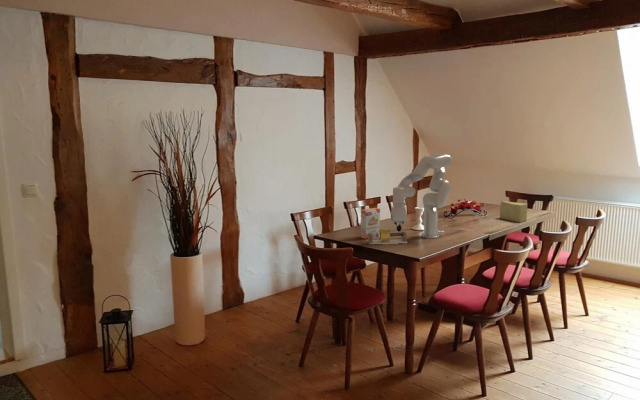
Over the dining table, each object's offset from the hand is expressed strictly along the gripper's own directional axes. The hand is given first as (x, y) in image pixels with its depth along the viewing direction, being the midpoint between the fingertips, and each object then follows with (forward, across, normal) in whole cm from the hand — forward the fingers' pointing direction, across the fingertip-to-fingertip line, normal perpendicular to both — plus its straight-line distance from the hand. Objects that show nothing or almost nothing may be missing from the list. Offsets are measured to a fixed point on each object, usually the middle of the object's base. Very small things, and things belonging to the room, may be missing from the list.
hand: (399, 231), depth 336 cm
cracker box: (+8, +17, -18) cm, 25 cm away
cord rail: (+8, +9, 0) cm, 11 cm away
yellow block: (+6, +11, 0) cm, 12 cm away
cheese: (+11, -110, -54) cm, 123 cm away
